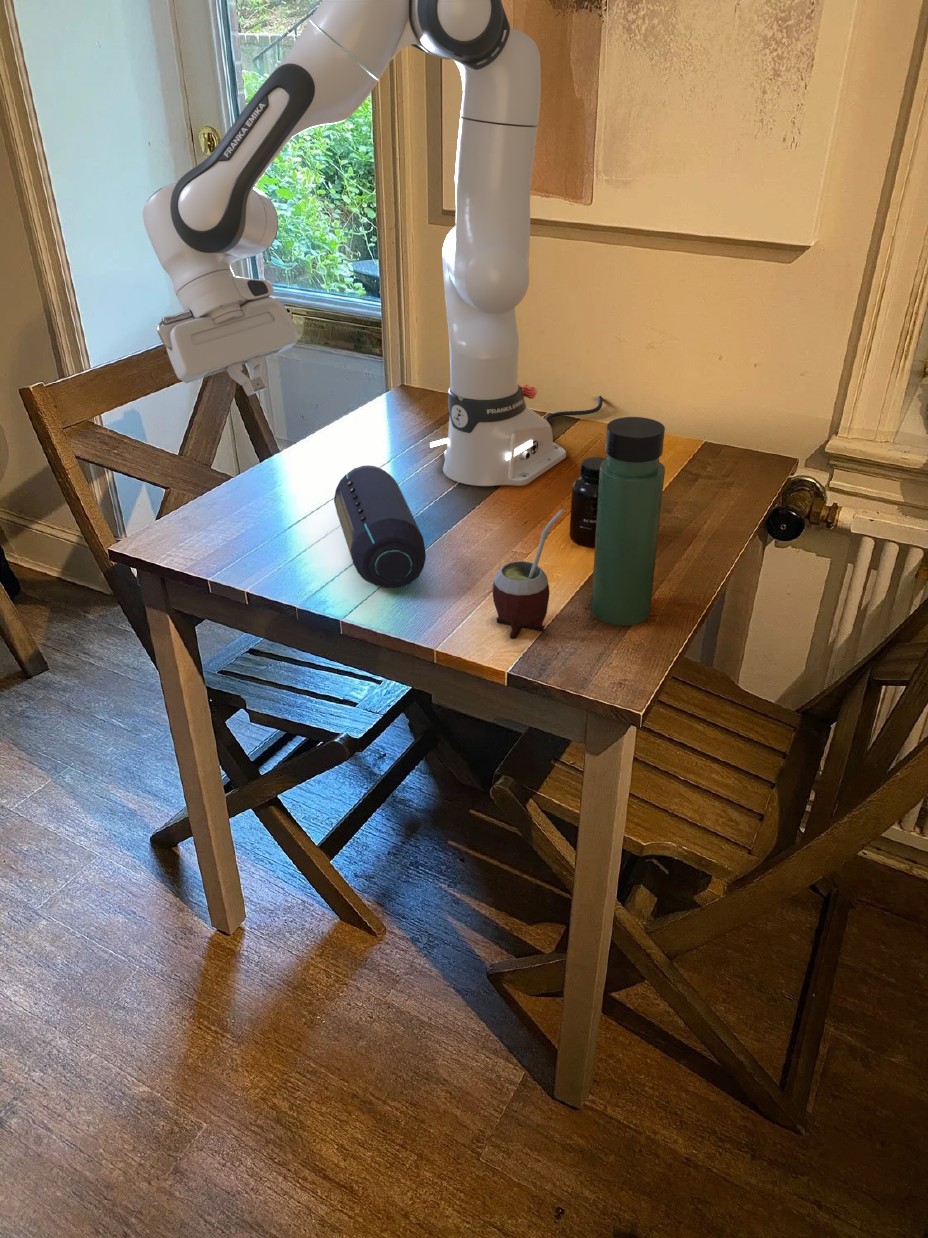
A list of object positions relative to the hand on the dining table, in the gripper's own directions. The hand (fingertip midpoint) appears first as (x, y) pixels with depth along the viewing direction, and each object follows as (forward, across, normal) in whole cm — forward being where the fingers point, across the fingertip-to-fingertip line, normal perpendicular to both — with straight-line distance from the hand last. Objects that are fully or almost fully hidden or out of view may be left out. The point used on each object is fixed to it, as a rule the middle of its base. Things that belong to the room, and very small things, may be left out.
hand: (258, 391), depth 139 cm
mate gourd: (+43, -1, -33) cm, 55 cm away
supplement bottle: (+40, +24, -27) cm, 54 cm away
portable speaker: (+29, 0, -10) cm, 31 cm away
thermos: (+47, +10, -40) cm, 62 cm away
